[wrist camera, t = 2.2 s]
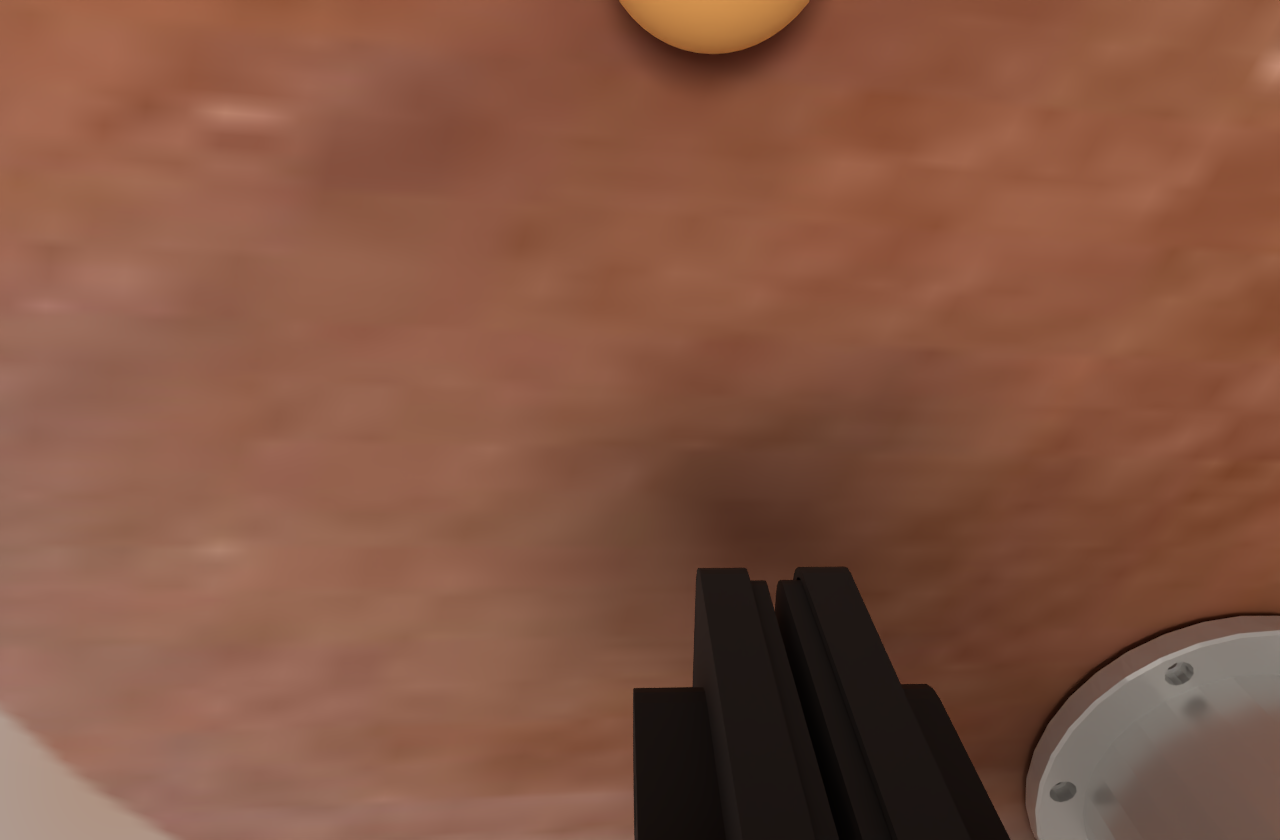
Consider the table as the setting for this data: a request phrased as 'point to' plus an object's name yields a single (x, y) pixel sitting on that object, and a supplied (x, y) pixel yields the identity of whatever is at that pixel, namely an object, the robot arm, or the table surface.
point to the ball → (713, 21)
